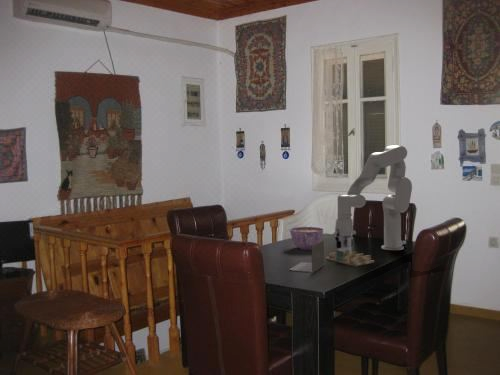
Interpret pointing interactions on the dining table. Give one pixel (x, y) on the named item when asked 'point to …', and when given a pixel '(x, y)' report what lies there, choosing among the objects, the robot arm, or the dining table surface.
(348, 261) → the bay rack
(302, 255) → the dining table surface
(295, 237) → the bowl of food
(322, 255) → the laptop
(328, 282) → the dining table surface
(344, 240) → the grey rectangular block
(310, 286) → the dining table surface
